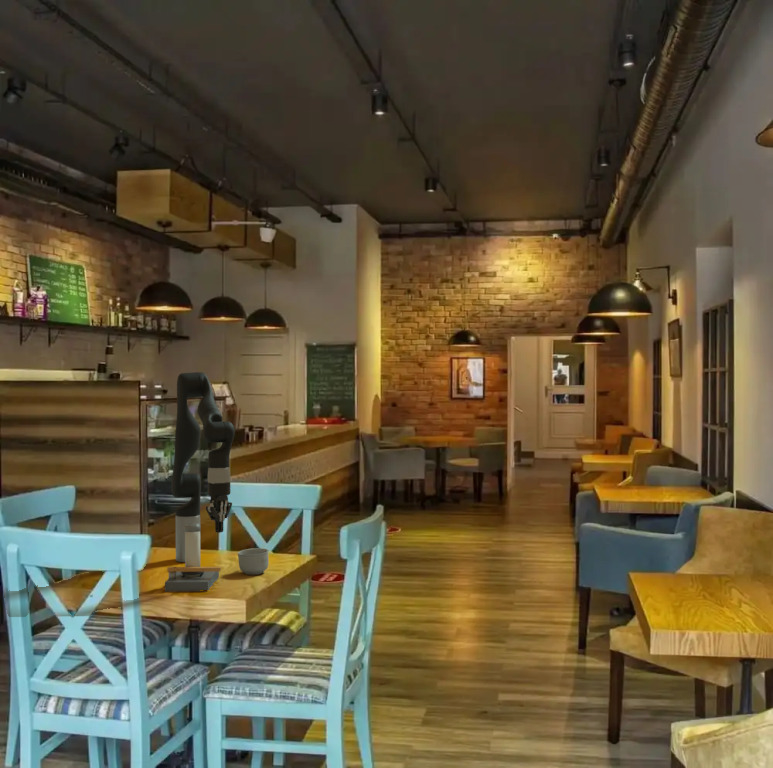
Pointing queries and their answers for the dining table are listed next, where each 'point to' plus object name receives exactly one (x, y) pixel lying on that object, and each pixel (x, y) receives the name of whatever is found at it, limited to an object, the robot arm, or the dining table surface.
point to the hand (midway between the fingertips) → (219, 532)
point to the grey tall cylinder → (192, 548)
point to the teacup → (253, 560)
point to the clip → (193, 569)
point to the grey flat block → (190, 581)
